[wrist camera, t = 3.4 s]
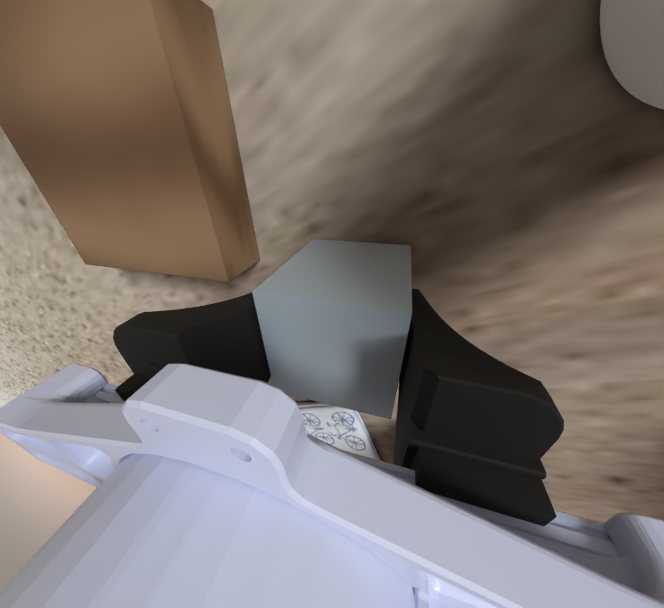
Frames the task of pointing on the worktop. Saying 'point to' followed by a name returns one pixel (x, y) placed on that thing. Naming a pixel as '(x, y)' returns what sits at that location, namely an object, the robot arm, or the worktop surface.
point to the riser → (129, 131)
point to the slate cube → (338, 323)
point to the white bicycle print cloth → (338, 428)
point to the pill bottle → (635, 46)
